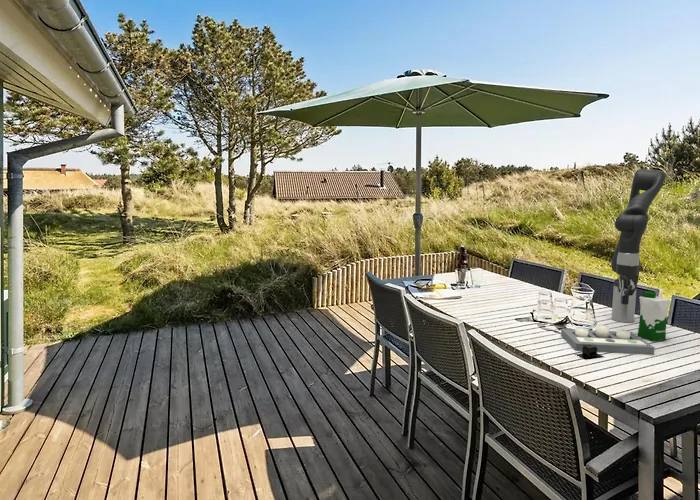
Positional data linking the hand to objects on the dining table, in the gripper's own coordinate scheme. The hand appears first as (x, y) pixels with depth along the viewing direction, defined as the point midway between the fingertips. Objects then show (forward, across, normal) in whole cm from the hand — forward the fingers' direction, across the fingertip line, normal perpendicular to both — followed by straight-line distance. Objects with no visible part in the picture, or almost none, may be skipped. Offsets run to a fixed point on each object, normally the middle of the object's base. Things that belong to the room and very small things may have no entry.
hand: (624, 304), depth 163 cm
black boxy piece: (+18, +17, -18) cm, 30 cm away
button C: (+17, 0, -16) cm, 23 cm away
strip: (+14, +8, -8) cm, 18 cm away
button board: (+17, +3, -8) cm, 19 cm away
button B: (+15, 0, -8) cm, 17 cm away
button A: (+17, 0, 0) cm, 17 cm away
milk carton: (+17, -8, +15) cm, 25 cm away
